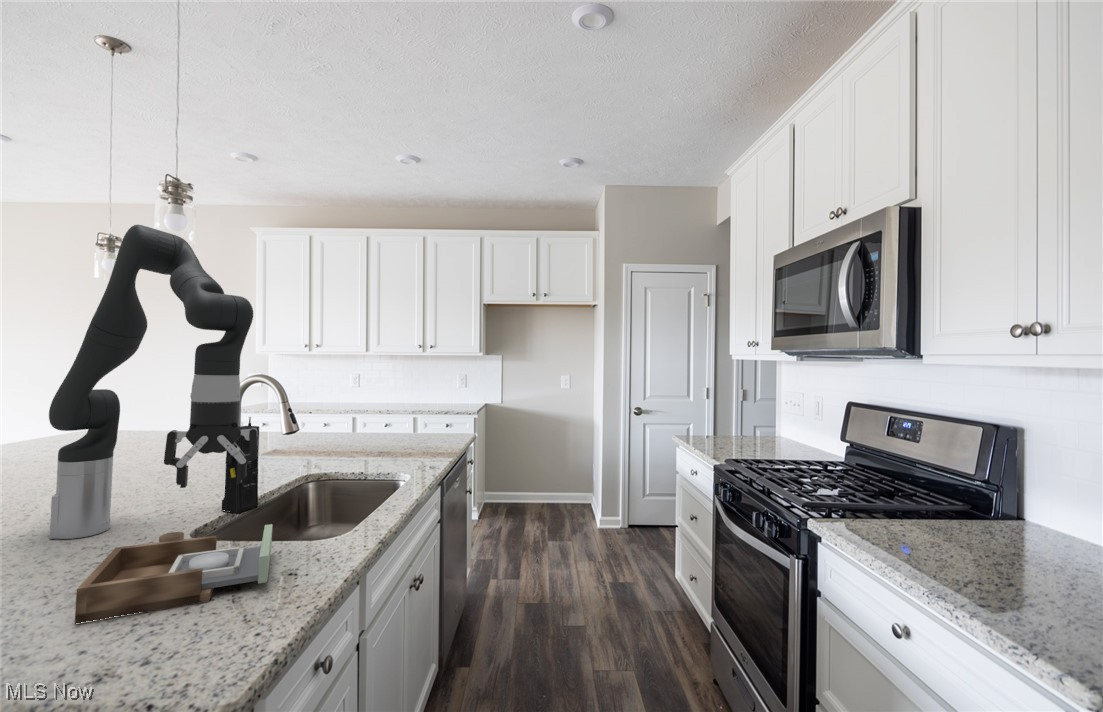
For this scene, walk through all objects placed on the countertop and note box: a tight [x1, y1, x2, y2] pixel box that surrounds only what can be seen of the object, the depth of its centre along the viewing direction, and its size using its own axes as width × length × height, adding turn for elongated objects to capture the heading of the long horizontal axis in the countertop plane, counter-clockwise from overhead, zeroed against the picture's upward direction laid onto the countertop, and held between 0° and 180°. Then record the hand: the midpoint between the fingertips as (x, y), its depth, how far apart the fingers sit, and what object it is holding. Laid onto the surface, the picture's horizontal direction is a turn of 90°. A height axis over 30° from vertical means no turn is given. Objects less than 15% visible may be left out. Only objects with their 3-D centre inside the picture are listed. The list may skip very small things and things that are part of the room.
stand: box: [158, 531, 185, 542], centre depth 96 cm, size 4×4×5 cm
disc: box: [189, 552, 229, 571], centre depth 88 cm, size 6×6×2 cm
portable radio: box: [221, 416, 260, 514], centre depth 129 cm, size 8×6×25 cm
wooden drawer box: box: [74, 535, 218, 625], centre depth 85 cm, size 17×18×6 cm
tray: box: [168, 523, 273, 590], centre depth 89 cm, size 16×18×5 cm
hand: (211, 484), depth 88 cm, fingers open, 8 cm apart
